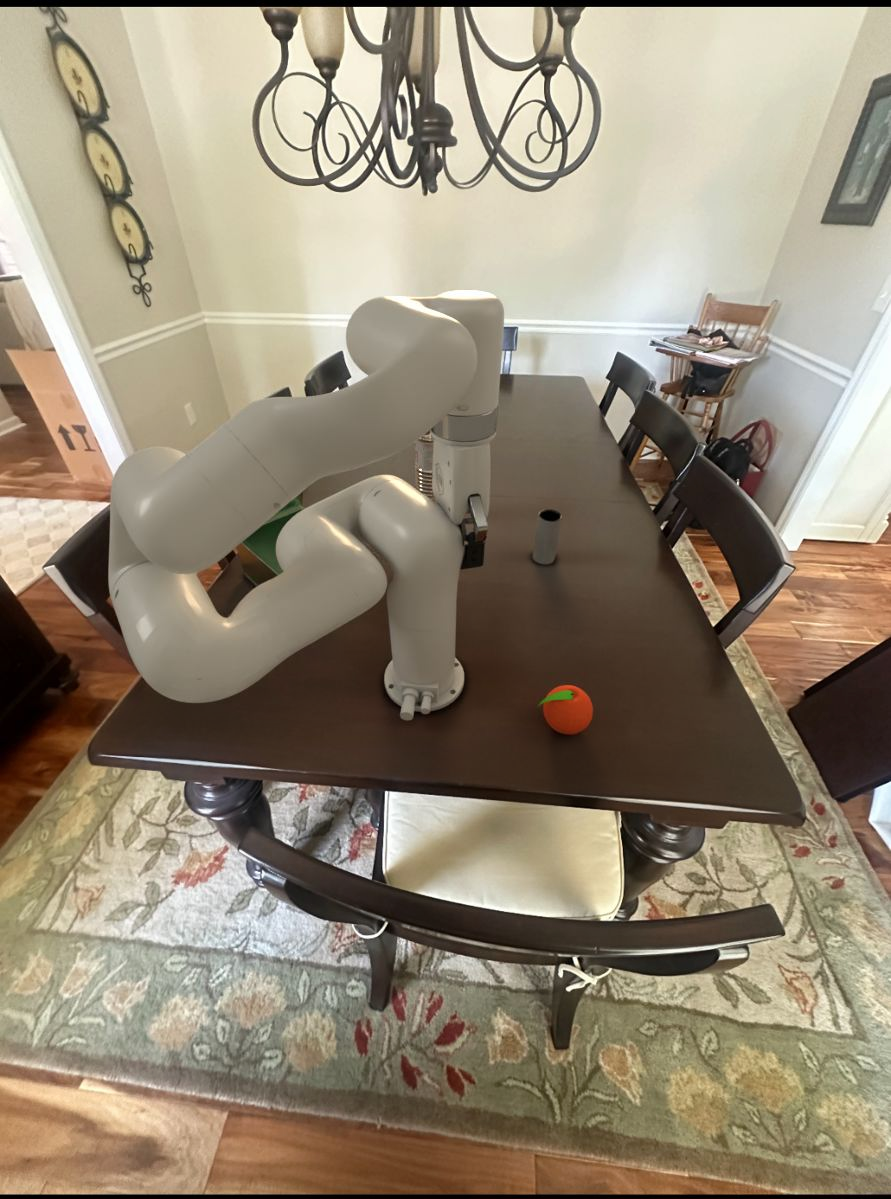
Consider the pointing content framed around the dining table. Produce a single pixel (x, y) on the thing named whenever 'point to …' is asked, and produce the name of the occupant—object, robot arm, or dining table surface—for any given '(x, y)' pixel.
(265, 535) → the open green keepsake box
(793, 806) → the dining table surface
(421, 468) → the water bottle
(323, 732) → the dining table surface
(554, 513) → the grey cylinder
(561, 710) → the clementine
